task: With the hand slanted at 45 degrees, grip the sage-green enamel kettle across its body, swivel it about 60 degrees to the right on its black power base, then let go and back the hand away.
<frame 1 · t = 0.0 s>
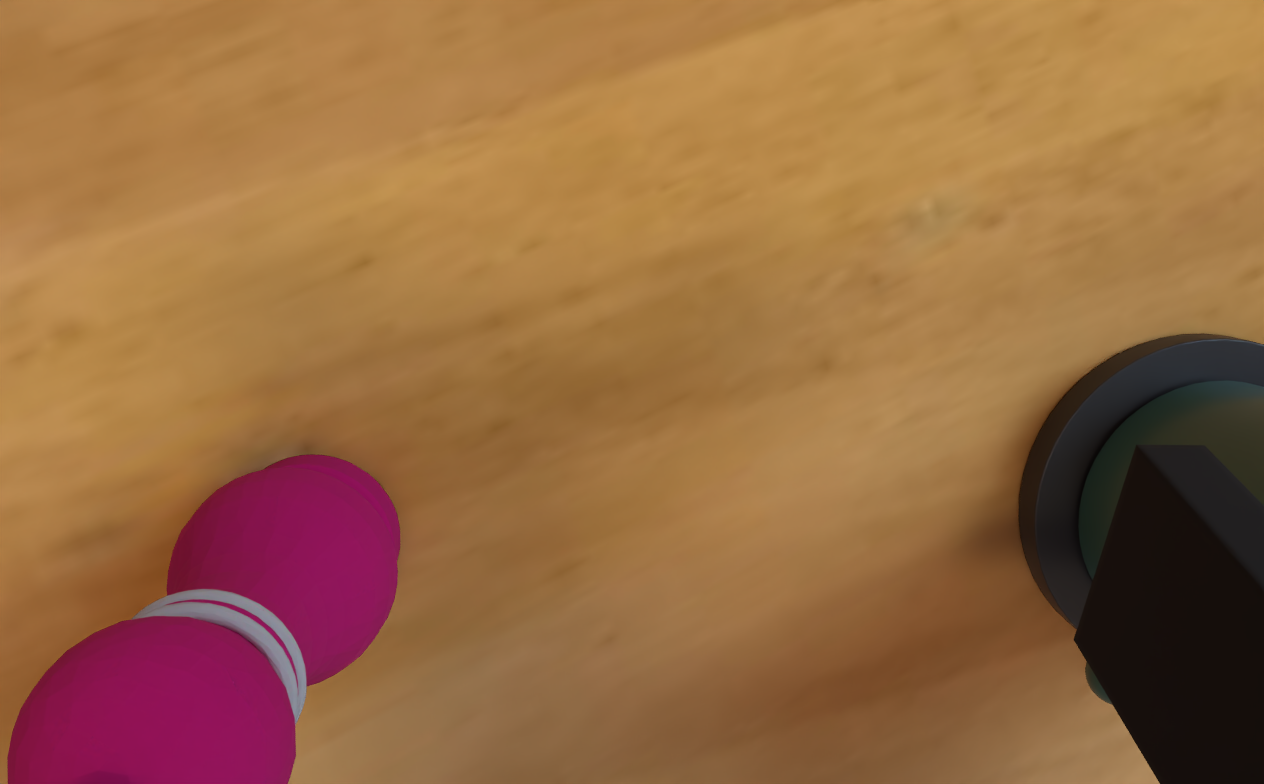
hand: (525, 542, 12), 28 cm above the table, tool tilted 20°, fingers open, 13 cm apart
pepper mill: (318, 533, 40), on the table
kettle base: (1180, 498, 42), on the table
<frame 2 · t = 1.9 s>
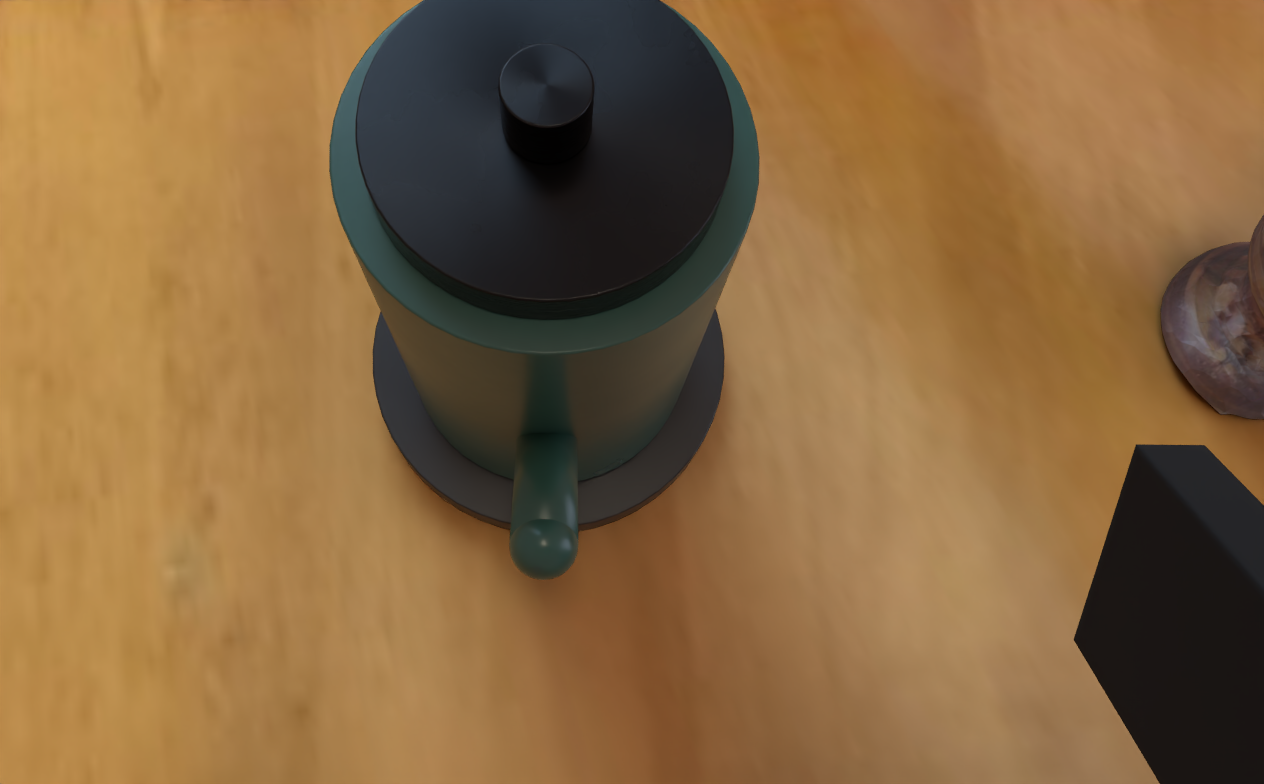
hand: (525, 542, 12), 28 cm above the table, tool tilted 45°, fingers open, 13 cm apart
kettle: (549, 223, 31), point 11 cm above the table, hinge at 0.0°
mortar and pestle: (1233, 296, 44), on the table
kettle base: (550, 365, 41), on the table
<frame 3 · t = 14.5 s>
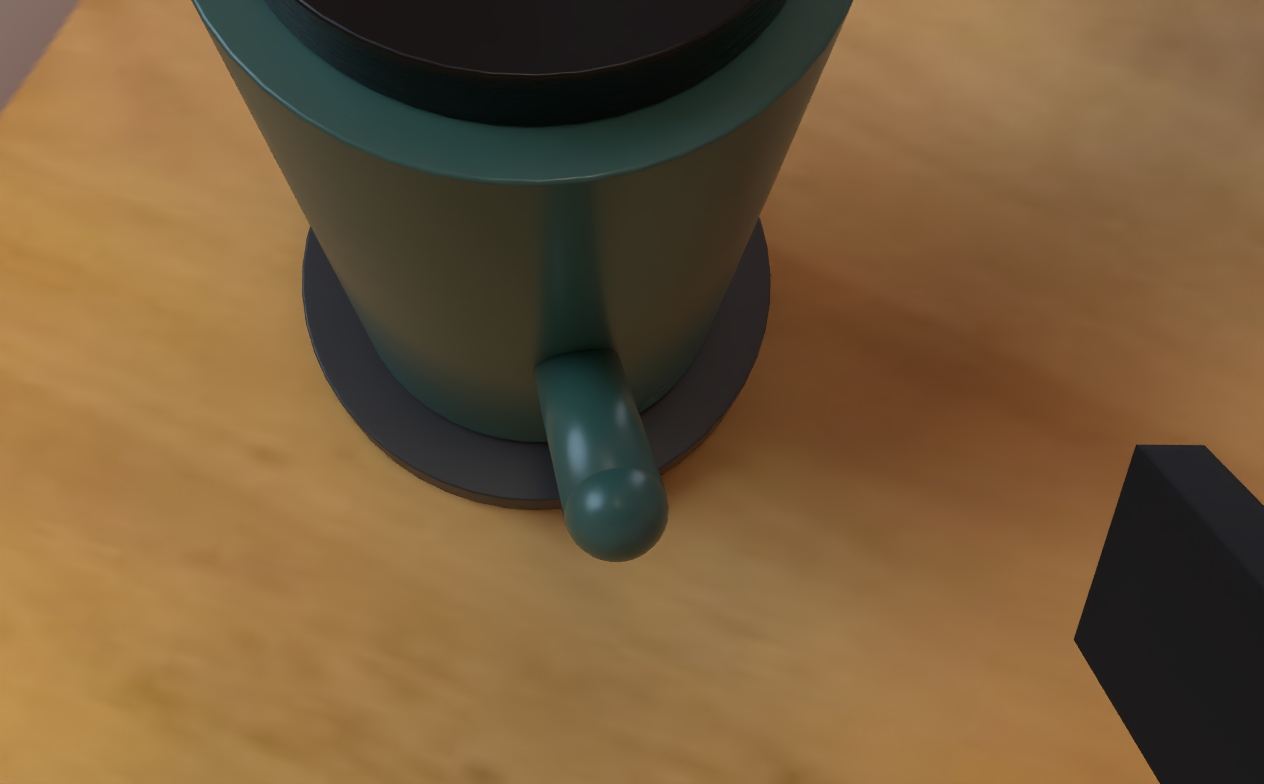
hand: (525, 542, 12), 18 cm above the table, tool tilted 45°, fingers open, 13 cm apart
kettle: (526, 49, 21), point 11 cm above the table, hinge at -49.4°
kettle base: (540, 288, 31), on the table
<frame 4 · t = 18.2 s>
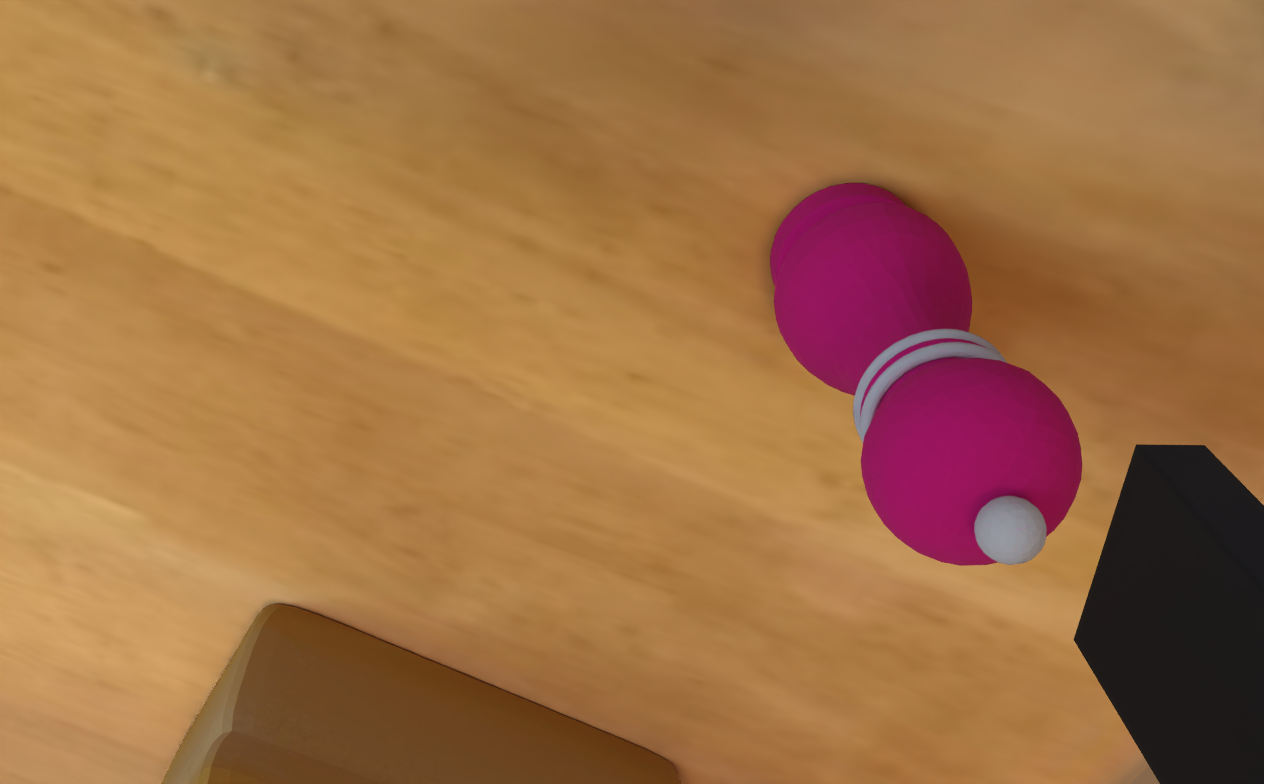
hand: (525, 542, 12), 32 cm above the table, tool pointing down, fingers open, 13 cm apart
pepper mill: (843, 252, 45), on the table
bread: (436, 756, 58), on the table
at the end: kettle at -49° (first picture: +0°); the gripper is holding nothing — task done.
